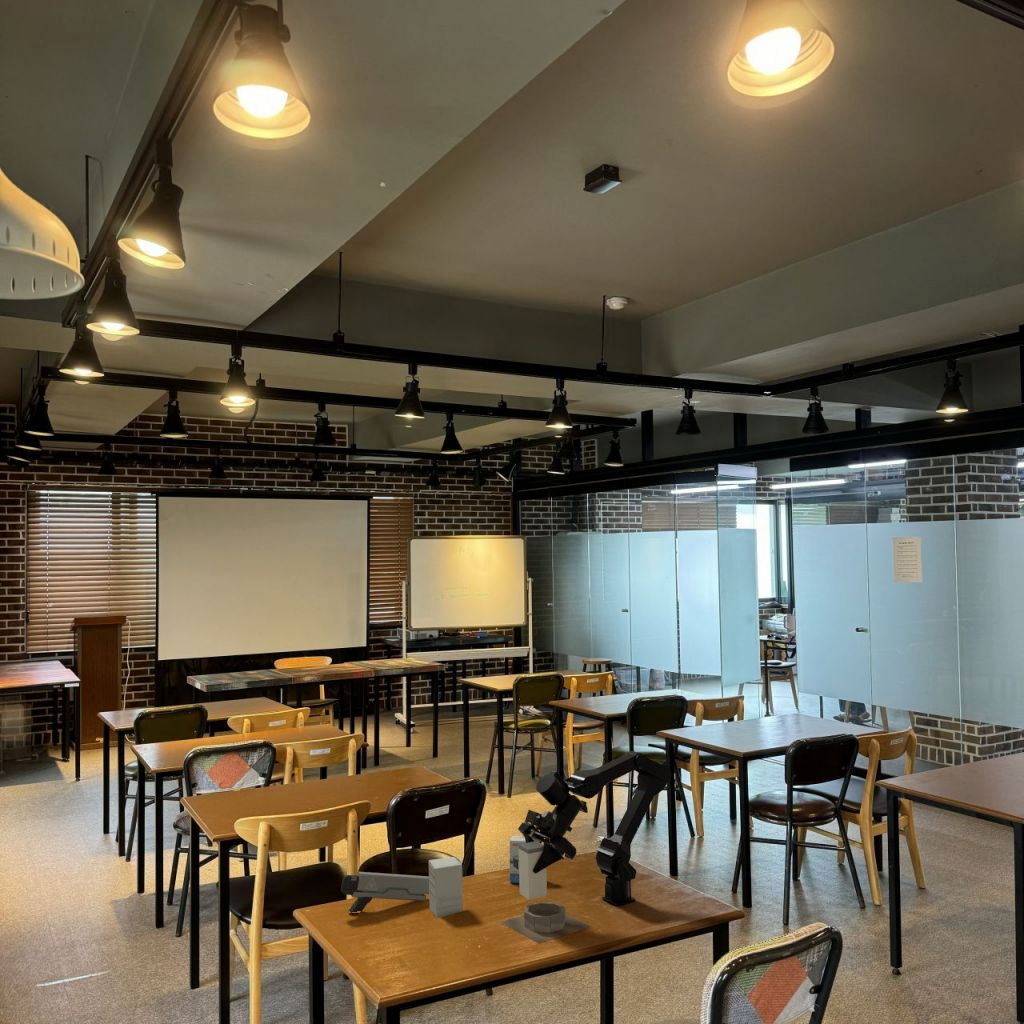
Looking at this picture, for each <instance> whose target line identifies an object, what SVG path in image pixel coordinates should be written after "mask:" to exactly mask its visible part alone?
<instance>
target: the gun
mask: <svg viewBox="0 0 1024 1024" xmlns="http://www.w3.org/2000/svg"><path fill="white" fill-rule="evenodd" d="M341 881H342V882H341V886H340V890H341V893H342V894H343V895H346V896H351V897H352V898H356V899H355V901H354V902H353V903H352V905H351V906H350V907H349V909H348V912H349V911H350V912H351V913H352V912H357V911H362V912H363V910H364V909H365V908H366V906H367V905H368V904H369V903H371V901H372V900H373V899H378V900H379V899H384V900H399V901H402V900H403V901H418V902H425V901H426V900H427V895H429V875H428V876H427V875H425V876H424V875H423V876H422V875H414V874H413V875H412V874H410V875H409V874H398V873H397V874H396V873H381V872H370V871H368V872H365V871H357V873H356V874H346V875H345V876H343V878H342V880H341Z"/></svg>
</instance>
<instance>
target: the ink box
mask: <svg viewBox="0 0 1024 1024" xmlns="http://www.w3.org/2000/svg"><path fill="white" fill-rule="evenodd" d="M523 843H526V841H525V837H524V836H523V835H512V836H510V837H509V883H510V884H519V844H523Z"/></svg>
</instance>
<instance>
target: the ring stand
mask: <svg viewBox="0 0 1024 1024" xmlns="http://www.w3.org/2000/svg"><path fill="white" fill-rule="evenodd" d="M523 913H524V914H523V915H520V916H517V917H513V918H509V919H506V920H503V921H500V922H499V923H500V924H501V925H503V926H505V927H508V928H509V929H511V930H513V931H515V933H516V932H517V933H518V934H520V935H522V936H524V937H526V938H528V939H530V940H532V941H533V942H535V943H537V944H542V943H545V942H549V941H552V940H555V939H558V938H560V937H565V936H567V935H570V934H572V933H575V932H578V931H581V930H584V929H588V928H591V927H592V925H590V924H587V923H586V922H583V921H581V920H579V919H577V918H575V917H573V916H570V915H568V914H566V907H565V906H563V905H561V904H559V903H556V902H551V901H548V902H546V901H544V902H543V901H539V902H536V903H531V904H528V905H526V906H525V908H524V912H523Z"/></svg>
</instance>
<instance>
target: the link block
mask: <svg viewBox="0 0 1024 1024" xmlns="http://www.w3.org/2000/svg"><path fill="white" fill-rule="evenodd" d="M543 846H544V844H542V843H541V844H540V843H539V842H537V841H534V842H529V843H523V844H519V883H518V884H519V894H520V895H521V896H522V897H524V898H526V899H527V900H529V901H531V900H535V899H539V898H545V897H547V896H548V889H547V888H548V885H547V880H548V879H547V867H546V868H544V869H543V870H541V871H539V872H538V873H536V874H535V873H534V872H533V869H534V867H535V865H536V863H537V861H538V859H539V857H540V856H541V854H542V852H543Z"/></svg>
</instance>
